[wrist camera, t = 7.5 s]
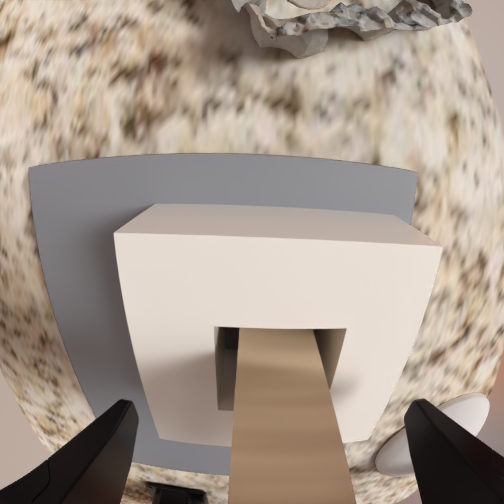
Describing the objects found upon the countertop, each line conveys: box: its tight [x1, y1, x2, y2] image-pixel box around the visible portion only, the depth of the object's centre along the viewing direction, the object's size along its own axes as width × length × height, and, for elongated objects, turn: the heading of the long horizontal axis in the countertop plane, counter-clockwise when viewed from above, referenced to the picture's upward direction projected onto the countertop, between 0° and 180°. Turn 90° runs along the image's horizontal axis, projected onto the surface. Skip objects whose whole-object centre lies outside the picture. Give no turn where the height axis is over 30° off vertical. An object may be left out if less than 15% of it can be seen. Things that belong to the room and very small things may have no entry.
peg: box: [228, 328, 356, 504], centre depth 8 cm, size 3×3×11 cm
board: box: [29, 153, 418, 476], centre depth 16 cm, size 24×18×1 cm
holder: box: [114, 204, 443, 447], centre depth 12 cm, size 10×10×4 cm
